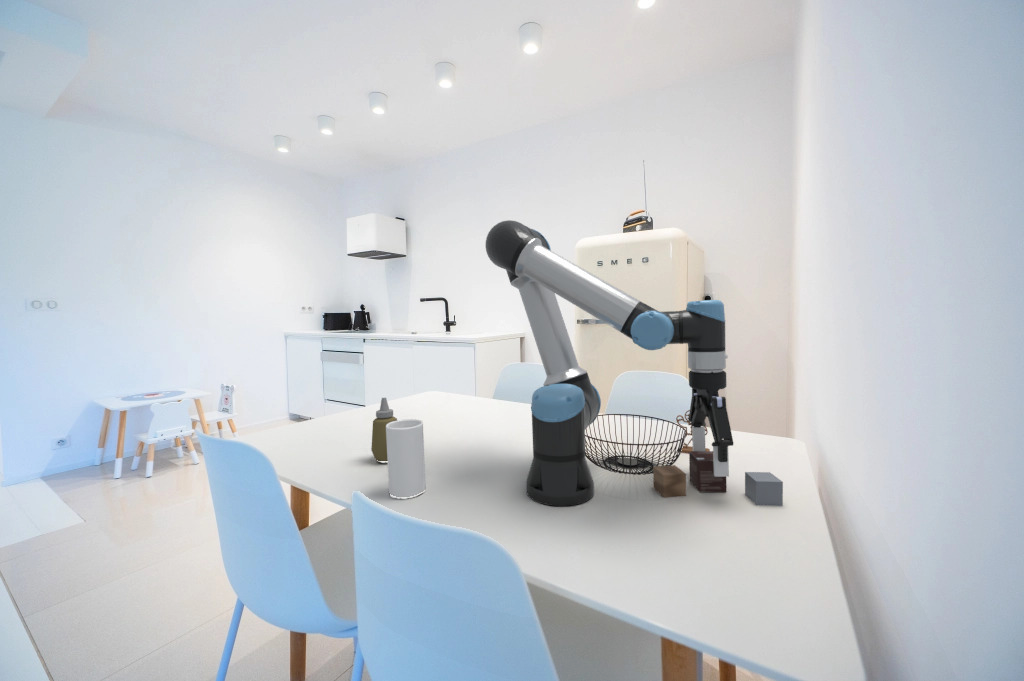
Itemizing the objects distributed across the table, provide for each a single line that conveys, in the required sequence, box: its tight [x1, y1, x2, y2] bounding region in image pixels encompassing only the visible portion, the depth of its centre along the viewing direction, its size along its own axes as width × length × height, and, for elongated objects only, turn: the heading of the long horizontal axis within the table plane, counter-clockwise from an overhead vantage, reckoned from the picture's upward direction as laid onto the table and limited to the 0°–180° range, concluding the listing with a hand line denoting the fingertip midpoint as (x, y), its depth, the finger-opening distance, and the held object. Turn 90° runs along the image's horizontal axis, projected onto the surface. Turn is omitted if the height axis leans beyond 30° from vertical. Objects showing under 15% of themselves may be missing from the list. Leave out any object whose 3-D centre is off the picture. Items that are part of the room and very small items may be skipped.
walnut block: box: [652, 464, 687, 498], centre depth 89 cm, size 5×5×5 cm
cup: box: [386, 418, 427, 497], centre depth 93 cm, size 8×8×16 cm
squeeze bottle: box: [371, 397, 398, 461], centre depth 115 cm, size 8×8×18 cm
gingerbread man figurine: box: [675, 409, 711, 455], centre depth 114 cm, size 9×4×12 cm, turn 61°
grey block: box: [744, 471, 784, 507], centre depth 84 cm, size 5×5×5 cm
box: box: [688, 450, 728, 493], centre depth 91 cm, size 6×6×7 cm
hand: (709, 464), depth 91 cm, fingers open, 13 cm apart
